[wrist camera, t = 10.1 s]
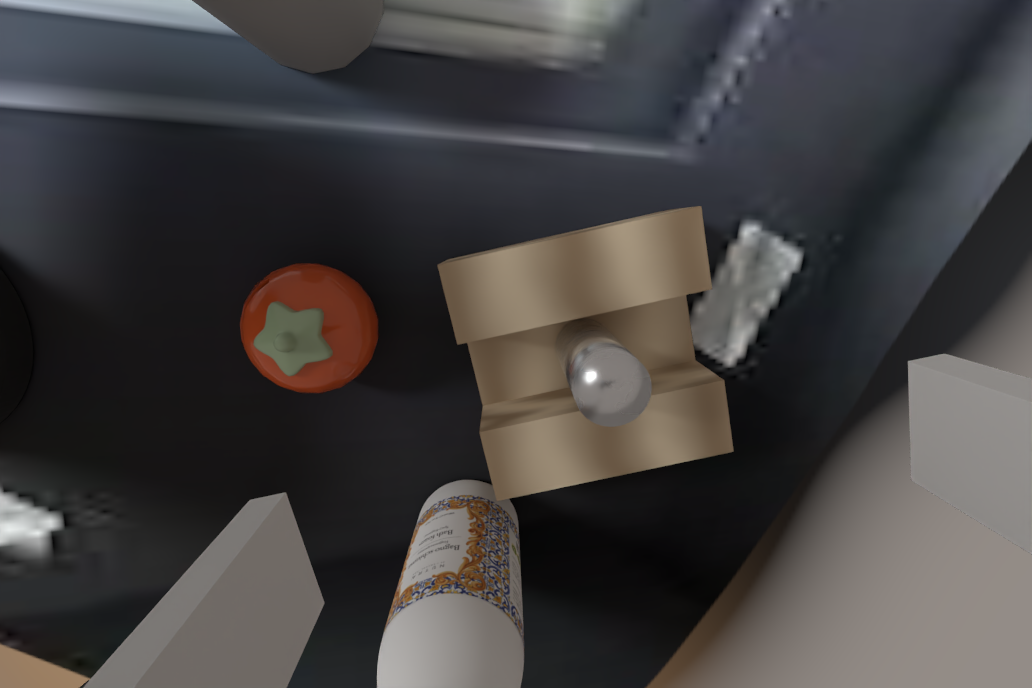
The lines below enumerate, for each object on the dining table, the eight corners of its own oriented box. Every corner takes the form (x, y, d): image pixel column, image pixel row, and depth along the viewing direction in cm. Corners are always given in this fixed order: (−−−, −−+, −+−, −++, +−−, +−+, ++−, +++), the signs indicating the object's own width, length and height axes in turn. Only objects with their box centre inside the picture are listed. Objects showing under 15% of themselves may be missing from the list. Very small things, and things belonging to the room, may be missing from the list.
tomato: (302, 237, 31) (234, 239, 23) (411, 293, 32) (381, 313, 24) (257, 341, 33) (178, 376, 25) (363, 392, 34) (320, 441, 26)
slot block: (498, 461, 35) (496, 501, 30) (448, 259, 32) (437, 264, 27) (699, 418, 34) (733, 451, 29) (669, 209, 31) (701, 206, 26)
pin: (561, 378, 33) (582, 433, 24) (550, 325, 32) (567, 361, 23) (616, 366, 33) (657, 417, 24) (606, 312, 32) (644, 344, 23)
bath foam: (494, 461, 35) (481, 757, 15) (533, 543, 36) (566, 910, 17) (402, 498, 35) (276, 830, 16) (444, 577, 37) (376, 973, 17)
